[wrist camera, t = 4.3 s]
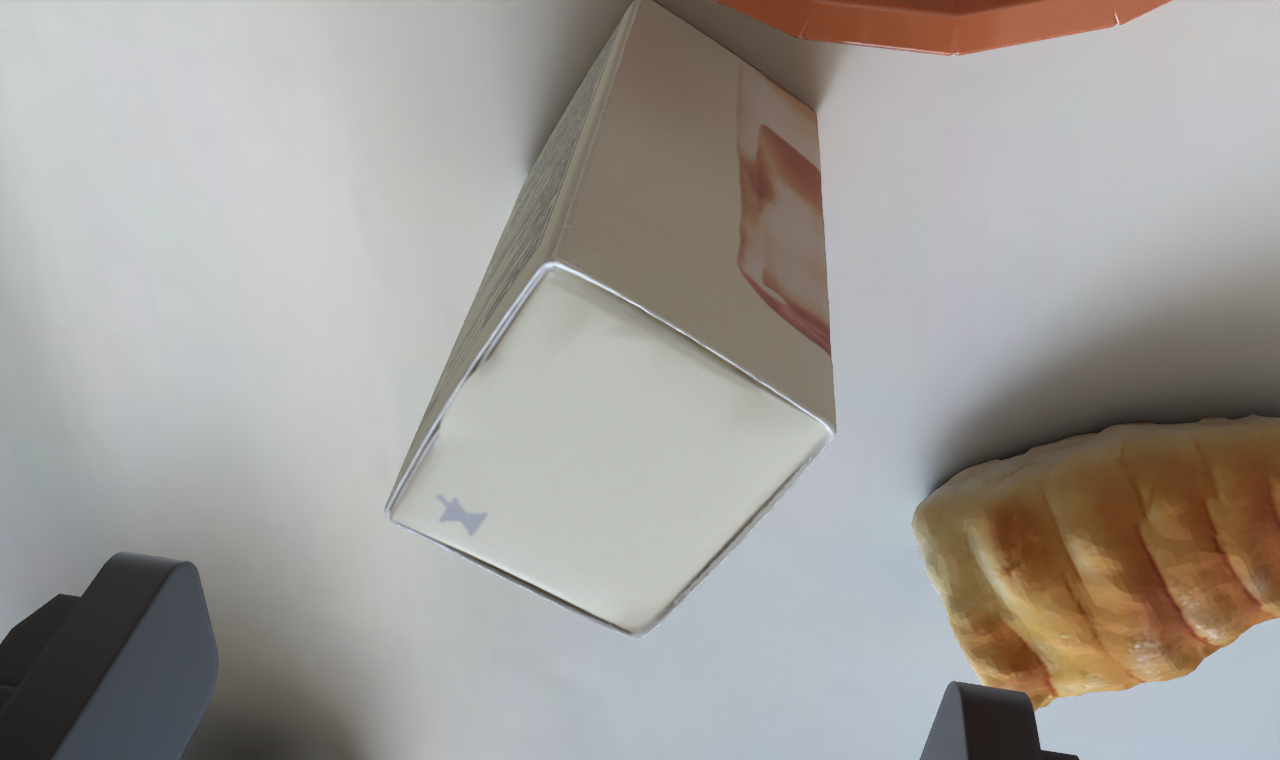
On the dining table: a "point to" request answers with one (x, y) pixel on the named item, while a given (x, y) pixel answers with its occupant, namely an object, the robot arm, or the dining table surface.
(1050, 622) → the pastry
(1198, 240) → the dining table surface
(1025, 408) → the dining table surface
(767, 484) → the printed white carton
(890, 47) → the bowl
